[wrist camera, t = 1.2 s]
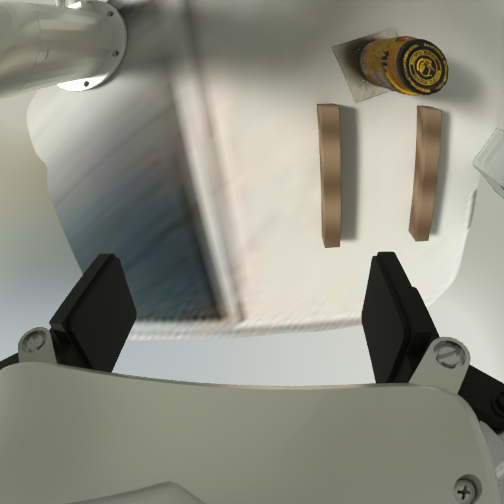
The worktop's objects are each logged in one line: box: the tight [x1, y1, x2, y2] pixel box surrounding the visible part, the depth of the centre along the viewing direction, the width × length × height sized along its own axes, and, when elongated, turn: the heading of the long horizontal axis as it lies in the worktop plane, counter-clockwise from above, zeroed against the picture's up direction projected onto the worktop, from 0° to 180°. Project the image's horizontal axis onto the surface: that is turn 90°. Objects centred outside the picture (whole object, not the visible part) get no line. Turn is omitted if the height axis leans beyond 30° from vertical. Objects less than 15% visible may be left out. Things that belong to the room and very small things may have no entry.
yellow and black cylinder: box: [332, 29, 448, 102], centre depth 26 cm, size 7×8×12 cm
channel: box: [317, 104, 441, 248], centre depth 38 cm, size 18×15×3 cm
